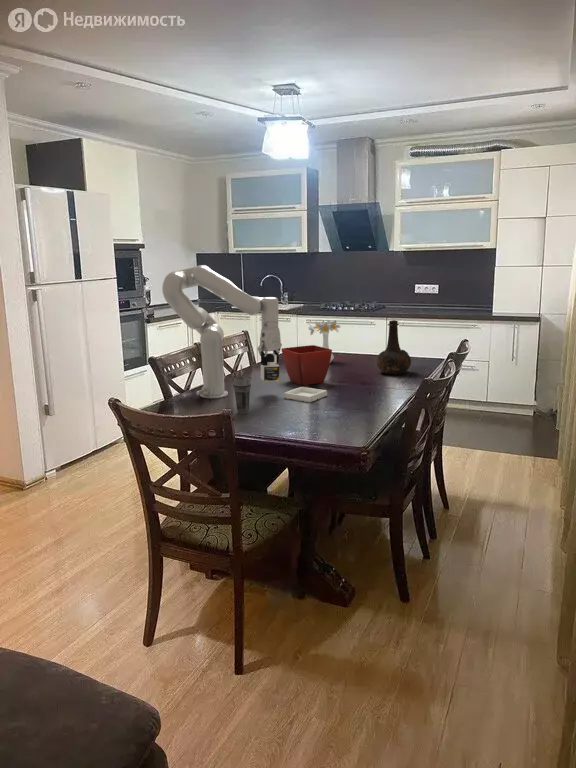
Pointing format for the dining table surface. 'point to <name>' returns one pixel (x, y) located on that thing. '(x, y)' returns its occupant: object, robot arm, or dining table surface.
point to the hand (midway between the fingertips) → (269, 363)
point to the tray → (305, 394)
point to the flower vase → (325, 331)
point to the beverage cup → (242, 393)
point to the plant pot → (307, 363)
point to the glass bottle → (393, 354)
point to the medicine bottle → (270, 369)
